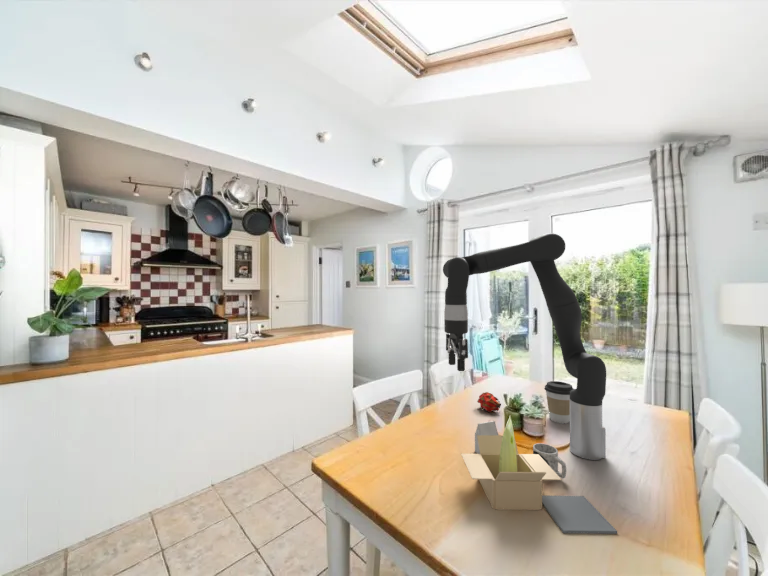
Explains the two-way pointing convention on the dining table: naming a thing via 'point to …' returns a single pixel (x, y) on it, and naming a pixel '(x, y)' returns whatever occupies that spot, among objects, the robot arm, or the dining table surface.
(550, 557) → the dining table surface
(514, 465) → the light green tall cone
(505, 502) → the carton
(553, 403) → the coffee cup
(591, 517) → the mat
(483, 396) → the dragon fruit
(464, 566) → the dining table surface
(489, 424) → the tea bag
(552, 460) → the mug
